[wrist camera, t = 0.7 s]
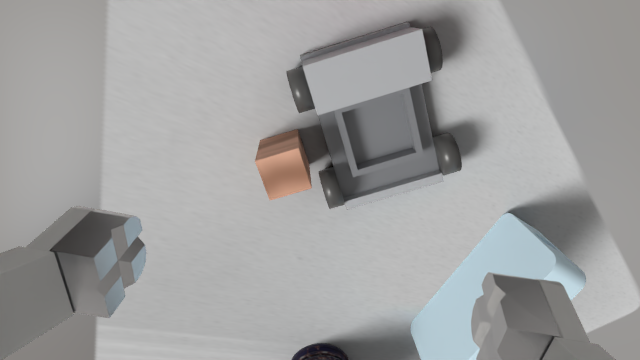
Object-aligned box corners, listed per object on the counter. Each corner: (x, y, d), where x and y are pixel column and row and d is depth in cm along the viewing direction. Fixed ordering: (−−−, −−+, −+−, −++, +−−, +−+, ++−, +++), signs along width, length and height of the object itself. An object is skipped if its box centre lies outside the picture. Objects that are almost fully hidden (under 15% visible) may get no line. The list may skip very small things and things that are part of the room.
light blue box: (437, 339, 69) (468, 412, 57) (408, 325, 68) (434, 396, 55) (536, 228, 63) (596, 282, 50) (506, 209, 61) (561, 260, 49)
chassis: (284, 60, 52) (283, 67, 46) (422, 16, 51) (440, 18, 45) (330, 205, 59) (334, 227, 53) (451, 169, 58) (470, 188, 52)
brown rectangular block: (260, 140, 55) (255, 161, 48) (297, 128, 55) (298, 147, 48) (272, 175, 57) (269, 200, 50) (309, 164, 57) (311, 188, 49)
